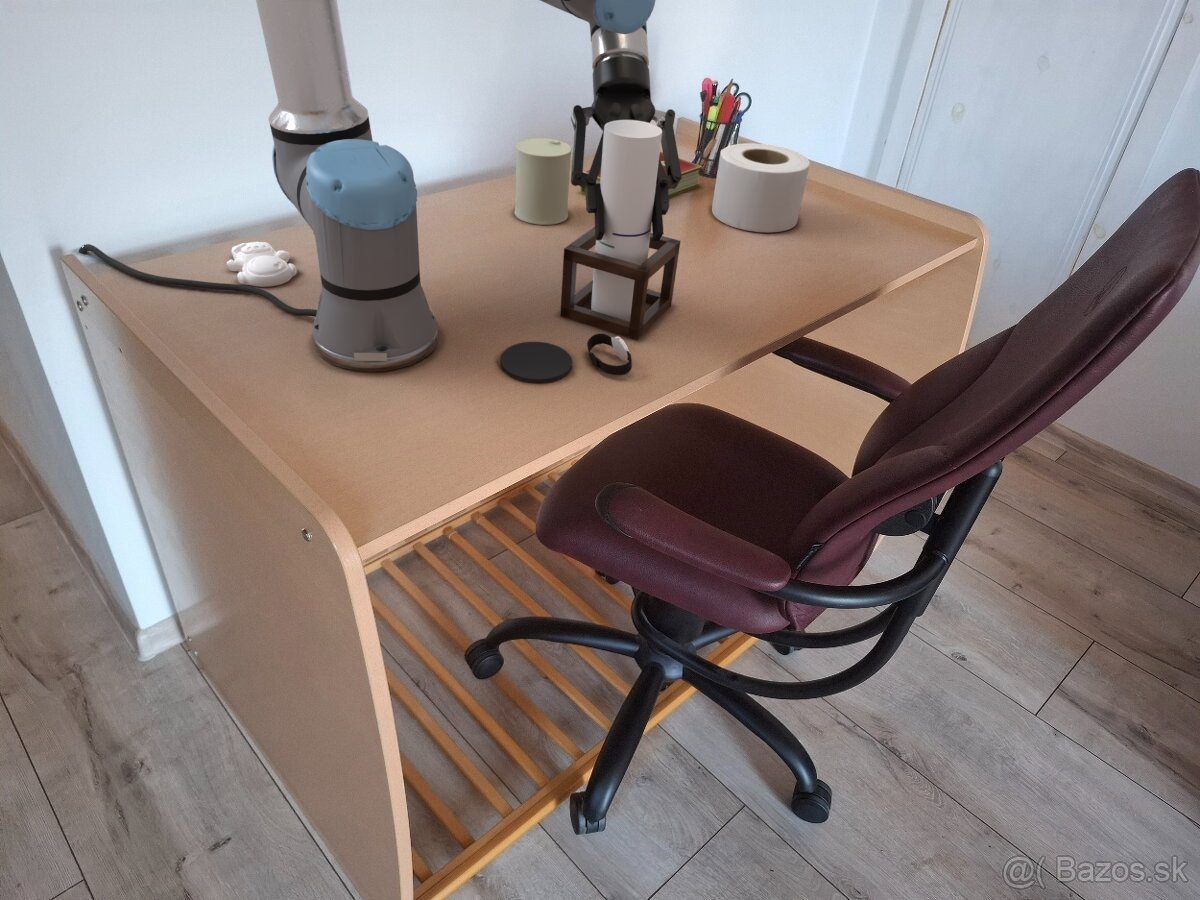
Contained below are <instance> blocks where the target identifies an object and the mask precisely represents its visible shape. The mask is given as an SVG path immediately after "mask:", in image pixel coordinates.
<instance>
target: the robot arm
mask: <svg viewBox="0 0 1200 900" xmlns="http://www.w3.org/2000/svg"><path fill="white" fill-rule="evenodd" d="M539 1H541V2H542V3H545V4H547V5H549V6H551V7H553V8H555V9H558V10H559V11H563V12H565V13H568V14H570V15H572V16H574V17H575V18H578V19H580V20H583V21H585V22H587V23H588V24H589V32H590V33H589V34H590V42H591V67H592V92H593V93H592V94H593V102H592V104H591V106H586V107H582V105H579V104H576V105H574V106H573V108H572V111H571V116H570V121H571V124H572V127H573V132H574V134H573V148H572V161H571V173H570V174H571V175H570V183H571V185H572V186H574V187H578V186H579V187H580V186H581V187H583V188H584V191H585V193H586V195H585V210H586V212H587V214H593V215H594V227H595V238H596V240H602V238H603V235H604V233H605V226H604V205H603V197H602V193H601V185H600V183H597V184H596V180H597V177H598V174H599V171H600V168H601V165H602V151H603V137H604V126H605V124H606V123H608V122H611V121H616V120H636V121H643V122H647V123H651V122H652V121H654V122H655V125H656V126H658V127H660V128H661V129H662V137H661V150H662V152H663V156H664V162H665V168H666V173H667V175H666V173H665V170H664V168H663V166H662V163H661V161H660V159H659V163H658V172H657V180H656V189H655V198H654V207H653V216H652V225H651V233H653V241H659V240H660V238H661V237H662V236H664V219H663V217H664V216H666V215H667V213H668V211H669V210H670V198H669V194H668V190H669V189H671V188H672V189H675V188H676V187H677V186H678V184H679V182H680V180H681V178H682V174H681V168H680V163H679V158H680V157H679V152H678V146H677V140H676V134H675V130H674V124H675V119H676V111H674V109H672V108H671V109H668V110H667V111H662V110H660V109H659V110H658V109H656V107H655V105H654V103H653V102H652V97H651V95H652V93H651V78H650V68H649V65H650V59H649V58H650V57H649V44H648V43H649V42H648V28H647V22H648V21H649V19H650V18H651V16H652V13H653V11H654V8H655V5H656V0H539ZM255 3H256V8H257V11H258V17H259V21H260V24H261V25H260V26H261V30H262V35H263V39H264V43H265V47H266V53H267V57H268V61H269V66H270V71H271V75H272V80H273V84H274V89H275V93H276V97H277V104H276V106H275V107H274V108H273V110H272V111H271V112H270V114H269V116H268V122H269V128H270V131H271V136H272V140H273V147H272V153H271V154H272V157H271V159H272V167H273V173H274V176H275V179H276V182H277V184H278V186H279V188H280V190H281V192H282V193H283V194H284V195H285V197H286V199H287V200H288V201H289V202H290V203H291V204H292V205H293V206H294V207H295V208H296V210H297V211H298V213H299V214H300V216H301V217H302V219H304V221H305V222H306V223H307V225H308V226H309V228H310V230H311V231H312V232H313V235H314V241H315V246H316V253H317V261H318V268H319V274H320V283H321V291H320V295H319V300H318V304H317V309H314V308H296V307H293V306H291V305H288V304H286V303H285V302H283V301H282V300H280V298H278V297H277V296H275V295H274V294H272V293H271V292H270V291H267V290H264V289H262V288H259V287H256V286H252V285H244V284H237V283H236V284H235V283H225V282H224V283H221V282H211V281H202V280H193V279H185V278H176V277H175V278H174V277H167V276H161V275H155V274H151V273H147V272H144V271H140V270H137V269H134V268H133V267H131V266H128V265H126V264H124V263H123V262H121V261H119V260H117V259H115V258H113V257H110V256H109V255H107V253H104V252H103V251H102V250H101V249H99V248H98V247H96V246H94V245H93V244H90V243H86V245H85V244H83V245H84V247H83V248H82V247H81V246H80V247H79V249H78V254H86V253H87V252H90V253H92V254H94V255H95V256H96V257H98V258H99V259H100V260H101V261H103V262H105V263H106V264H108V265H110V266H112V267H115V268H116V269H118V270H119V271H121V272H124V273H126V274H128V275H130V276H131V277H135V278H138V279H140V280H144V281H148V282H152V283H156V284H163V285H169V286H177V287H186V288H187V287H188V288H197V289H204V290H215V291H226V292H227V291H229V292H238V293H239V292H240V293H245V294H251V295H255V296H260V297H262V298H263V299H265V300H267V301H269V302H270V303H272V304H273V305H275V307H277V308H278V309H280V310H281V311H282V312H284V313H287V314H289V315H292V316H296V317H297V316H298V317H315V319H314V322H313V327H312V338H313V343H314V349H315V351H316V353H317V354H318V355H319V356H320V357H321V358H322V359H323V360H324V361H326V362H328V363H329V364H332V365H334V366H337V367H340V368H342V369H343V368H344V369H347V370H352V371H359V372H385V371H392V370H393V371H394V370H398V369H401V368H404V367H408V366H411V365H414V364H416V363H419V362H420V361H422V360H423V359H425V358H426V357H427V358H428V356H430V355H431V353H432V352H434V350H435V349H436V347H437V346H438V342H439V330H438V321H437V320H436V317H435V315H434V313H433V312H432V310H431V309H430V305H429V302H428V300H427V296H426V294H425V291H424V289H423V286H422V283H421V270H420V249H419V230H418V227H419V226H418V209H417V208H418V207H417V201H418V190H417V185H416V182H415V176H414V171H413V167H412V164H411V163H410V161H409V160H408V159H407V158H406V156H404V154H403V153H401V152H400V151H399V150H397V149H396V148H394V147H392V146H390V145H387V144H384V145H382V144H381V145H380V144H379V142H378V141H373V133H372V129H371V122H370V117H369V111H368V109H367V108H366V107H365V105H363V104H361V102H359V101H358V100H356V99H355V98H354V96H353V91H352V85H351V79H350V73H349V67H348V61H347V54H346V49H345V42H344V37H343V32H342V24H341V18H340V11H339V7H338V0H255ZM591 118H592V119H593V121H594V122H595V123H596V125H597V126H598V127H599V128H600V129H601V131H602V134H601V136H600V139H599V143H598V145H597V148H596V151H595V154H594V156H593V160H592V162H591V166H590V169H589V170H590V171H589V174H586V173H583V172H584V162H585V161H584V159H585V145H586V144H585V143H586V133H587V126H589V124H590V119H591Z"/></svg>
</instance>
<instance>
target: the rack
mask: <svg viewBox="0 0 1200 900" xmlns="http://www.w3.org/2000/svg"><path fill="white" fill-rule="evenodd" d="M594 247H596V238H595V226H594V227H592V228H591V229H589V230H588V231H587V232H585V233H584V234H582V235H580V236H579V237H577V238H576V239H575V240H574V241H572V242H571V243H569V244H568V245H566V246H565V247H564V248H563V258H562V259H563V260H562V279H561V294H560V295H561V297H560V315H559V317H561V318H566V319H568V320H572V321H574V322H578V323H580V324H584V325H587V326H591V327H594V328H597V329H600V330H603V331H606V332H610V333H613V334H616V335H618V336H622V337H626V338H629V339H632V340H635V341H639V339H641V337H642V336H643V335H644V334H645V333H646V332H647V331H648V330H649V329H650V328H651V327H652V326H653V325H654V324H655V323H656V322H657V321H658V320H659V319H661V317H662V316H663V315H664V314H665V313H666V312H667V311H668V310H669V309H670V308H671V307H672V303H673V295H674V289H675V283H676V275H677V269H678V262H679V254H680V249H681V240H679V239H675V238H671V237H667V236H664V235H662V237H661V238H660V240H659V241H653V232H651V233H650V242H649V249H652V250H656V251H655V252H653V254H651V255H650V256H648V259H647V260H646V261H645V262H643V263H642V264H641V265H638V264H634V263H631V262H627V261H624V260H620V259H617V258H613V257H610V256H606V255H602V254H599V253H595V251H591V249H592V248H594ZM578 265H581V266H584V267H588V268H591V269H594V268H595V269H598V270H601V271H605V272H608V273H612V274H615V275H619V276H622V277H626V278H629V279H632V280H635V281H634V290H633V299H632V308H631V317H630V322H629V321H625V320H622V319H619V318H616V317H612V316H609V315H606V314H603V313H599V312H596V311H593V310H591V308H587V307H585V306H587V304H588V303H590V302H591V301H592V288H593V279H592V280H590V281H589V282H588V283H587V284H586V285H585V286H583V287H582V288H581V289H579V290H578V291H577V292H576V284H577V271H578ZM661 268H663V271H662V273H663V274H662V280H661V287H660V291H655V290H653V289H648V287H649V286H648V285H649V279H651V278H652V277H653V276H654V275H655V274H656V273H657V272H658V271H659V270H660V269H661ZM646 305H650V307H648V308H647V309H646Z"/></svg>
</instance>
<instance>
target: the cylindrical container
mask: <svg viewBox="0 0 1200 900" xmlns="http://www.w3.org/2000/svg"><path fill="white" fill-rule="evenodd" d="M661 137H662V129H661V128H660V127H658V126H656V124H653V123H651V122H650V123H647V122H643V121H636V120H616V121H611V122H608V123H606V124H605V126H604V137H603V151H602V165H601V178H600V185H601V193H602V197H603V205H604V226H605V233H604V235H603V238H602V240H596V245H595V246H594V247H595V248H594V252H595V253H599V254H602V255H606V256H610V257H613V258H617V259H620V260H624V261H627V262H631V263H634V264H638V265H641V264H642V263H643V262H645V261H646V260H647V259H648V258H649V251H650V248H649V242H650V233H652V216H653V207H654V198H655V189H656V180H657V172H658V163H659V155H660V152H661V147H662V145H661ZM592 280H593V288H592V300H591V301H590V302H591V303H590V310H593V311H596V312H599V313H603V314H606V315H609V316H612V317H616V318H619V319H622V320H625V321H629V322H630V317H631V308H632V299H633V290H634V281H635V280H632V279H629V278H626V277H622V276H619V275H615V274H612V273H608V272H605V271H601V270H598V269H595V268H593V275H592Z"/></svg>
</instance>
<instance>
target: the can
mask: <svg viewBox="0 0 1200 900" xmlns="http://www.w3.org/2000/svg"><path fill="white" fill-rule="evenodd" d="M572 151H573V148H572V147H571V146H570V144H568V143H566V142H564V141H561V140H558V139H553V138H548V137H547V138H546V137H531V138H525V139H521V140H520V141H517V142H516V144H515V153H516V154H515V155H516V157H515V158H516V159H515V166H516V167H515V205H514V216H515V217H516V218H517V219H518V220H520V221H521V222H525V223H528V224H532V225H539V226H551V225H557V224H560V223H563V222H565V221H566V220H567V219H568V217H569V210H568V209H569V187H570V174H571V173H570V170H571V158H572V157H571V156H572Z"/></svg>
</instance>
